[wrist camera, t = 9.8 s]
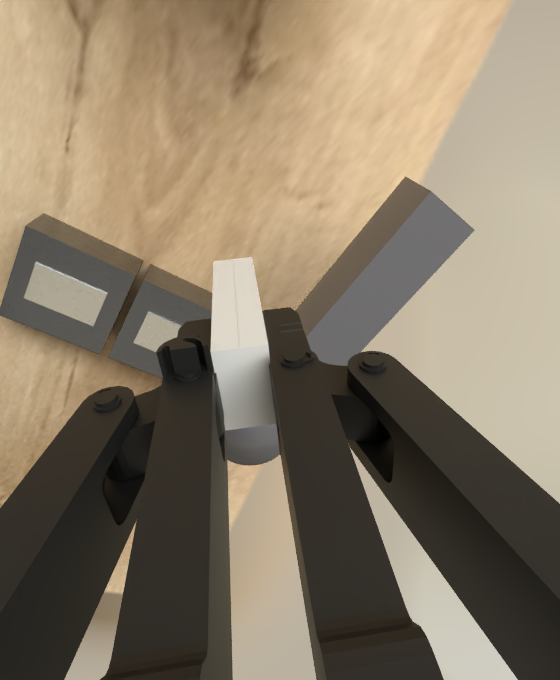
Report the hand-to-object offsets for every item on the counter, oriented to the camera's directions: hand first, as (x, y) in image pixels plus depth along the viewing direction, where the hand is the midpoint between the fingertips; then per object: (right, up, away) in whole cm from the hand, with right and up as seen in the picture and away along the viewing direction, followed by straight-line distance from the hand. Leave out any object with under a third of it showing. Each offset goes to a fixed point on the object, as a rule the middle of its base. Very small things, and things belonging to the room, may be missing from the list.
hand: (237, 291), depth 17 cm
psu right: (-5, -1, +12) cm, 13 cm away
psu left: (-11, +2, +10) cm, 15 cm away
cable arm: (+4, -1, +7) cm, 8 cm away
